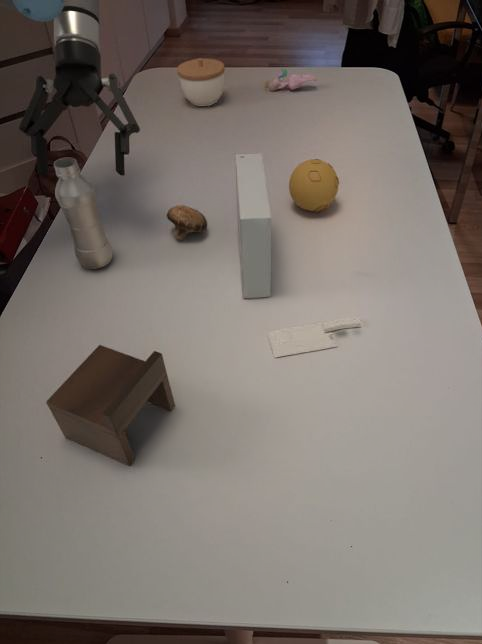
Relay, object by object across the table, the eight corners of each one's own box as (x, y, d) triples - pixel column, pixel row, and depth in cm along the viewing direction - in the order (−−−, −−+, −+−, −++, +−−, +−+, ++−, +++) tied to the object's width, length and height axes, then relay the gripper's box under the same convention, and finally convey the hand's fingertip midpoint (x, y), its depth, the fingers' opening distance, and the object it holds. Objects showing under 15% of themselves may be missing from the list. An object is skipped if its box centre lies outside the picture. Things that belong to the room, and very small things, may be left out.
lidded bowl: (172, 102, 150) (166, 59, 142) (208, 89, 155) (203, 47, 147) (200, 115, 143) (195, 71, 135) (236, 101, 149) (233, 58, 141)
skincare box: (274, 297, 92) (272, 217, 80) (242, 300, 92) (235, 220, 80) (265, 227, 106) (262, 151, 95) (237, 229, 106) (231, 153, 95)
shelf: (64, 437, 74) (37, 386, 66) (113, 381, 80) (93, 329, 72) (130, 466, 70) (109, 416, 62) (175, 405, 77) (162, 353, 69)
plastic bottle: (93, 248, 104) (61, 149, 89) (122, 257, 101) (94, 157, 87) (72, 268, 100) (34, 167, 85) (101, 277, 98) (68, 176, 83)
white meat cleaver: (367, 341, 84) (368, 336, 83) (273, 358, 82) (273, 353, 82) (357, 319, 87) (358, 314, 86) (267, 334, 86) (267, 330, 85)
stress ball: (295, 223, 107) (295, 177, 100) (284, 198, 114) (283, 153, 106) (343, 216, 108) (347, 170, 101) (329, 191, 115) (332, 146, 107)
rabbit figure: (264, 98, 152) (317, 90, 149) (260, 76, 148) (314, 67, 145) (267, 89, 157) (318, 81, 153) (263, 68, 152) (315, 59, 149)
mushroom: (166, 237, 100) (175, 203, 98) (158, 230, 107) (166, 199, 105) (206, 248, 103) (215, 216, 102) (195, 241, 110) (204, 211, 109)
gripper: (154, 58, 96) (157, 178, 96) (17, 63, 97) (21, 182, 97) (144, 34, 88) (147, 165, 89) (-6, 40, 89) (-1, 169, 90)
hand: (81, 174), depth 93 cm, fingers open, 13 cm apart
